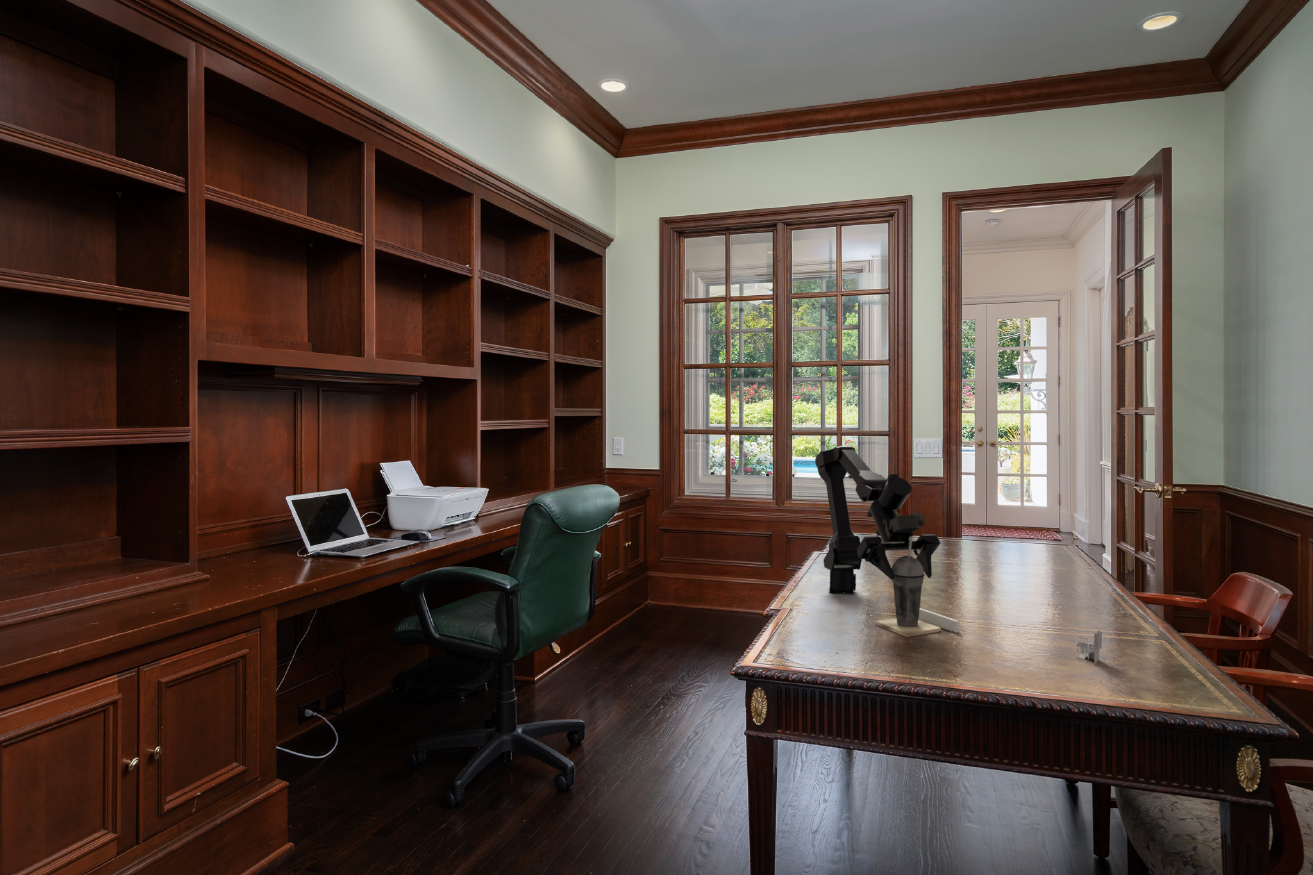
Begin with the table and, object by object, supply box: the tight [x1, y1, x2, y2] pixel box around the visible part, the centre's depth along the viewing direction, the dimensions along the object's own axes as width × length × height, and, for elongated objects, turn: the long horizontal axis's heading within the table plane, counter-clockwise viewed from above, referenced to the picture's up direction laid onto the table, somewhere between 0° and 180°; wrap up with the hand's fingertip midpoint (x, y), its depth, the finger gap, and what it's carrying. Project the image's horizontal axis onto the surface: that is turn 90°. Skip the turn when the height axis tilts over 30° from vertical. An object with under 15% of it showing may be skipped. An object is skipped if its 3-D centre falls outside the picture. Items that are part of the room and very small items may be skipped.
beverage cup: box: [891, 536, 926, 627], centre depth 163 cm, size 7×7×20 cm
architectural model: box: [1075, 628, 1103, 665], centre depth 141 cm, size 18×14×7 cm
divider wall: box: [918, 607, 960, 634], centre depth 166 cm, size 14×1×2 cm, turn 25°
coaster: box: [874, 617, 942, 638], centre depth 163 cm, size 10×10×1 cm
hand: (911, 577), depth 161 cm, fingers open, 9 cm apart
